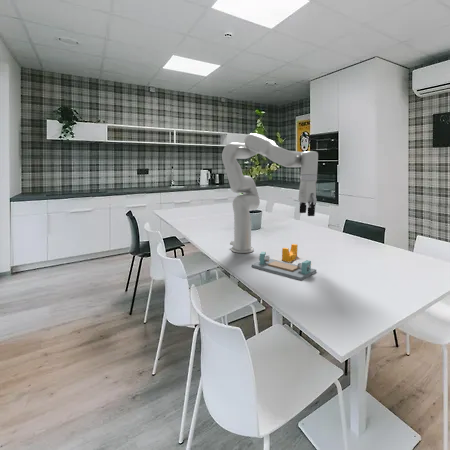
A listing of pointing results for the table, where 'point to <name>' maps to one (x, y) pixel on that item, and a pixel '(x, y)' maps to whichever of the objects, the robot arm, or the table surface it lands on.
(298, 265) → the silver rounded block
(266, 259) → the short metal cylinder
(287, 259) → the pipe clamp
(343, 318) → the table surface
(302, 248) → the table surface
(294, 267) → the stand
